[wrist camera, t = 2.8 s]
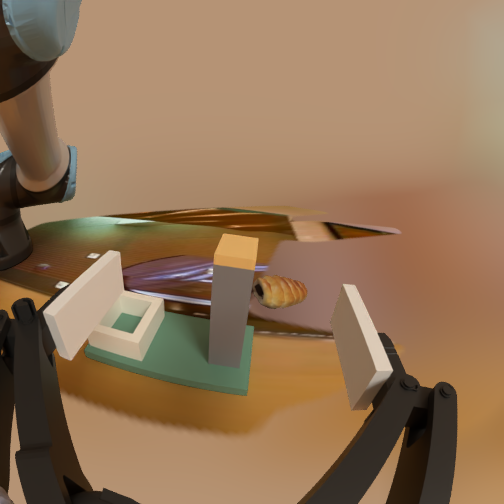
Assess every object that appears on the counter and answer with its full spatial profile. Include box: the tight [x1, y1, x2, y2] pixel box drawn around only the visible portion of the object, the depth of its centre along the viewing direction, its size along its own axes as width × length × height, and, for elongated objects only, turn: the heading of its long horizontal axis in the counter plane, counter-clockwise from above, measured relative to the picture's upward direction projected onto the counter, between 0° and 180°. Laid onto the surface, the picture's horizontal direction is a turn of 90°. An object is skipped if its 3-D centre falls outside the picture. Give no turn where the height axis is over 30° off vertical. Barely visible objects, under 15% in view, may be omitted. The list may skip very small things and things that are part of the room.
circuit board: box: [84, 311, 254, 396], centre depth 32 cm, size 20×11×1 cm, turn 86°
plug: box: [208, 234, 259, 368], centre depth 29 cm, size 4×5×14 cm
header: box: [88, 291, 165, 361], centre depth 31 cm, size 7×9×3 cm
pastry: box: [252, 275, 307, 309], centre depth 46 cm, size 9×7×4 cm
